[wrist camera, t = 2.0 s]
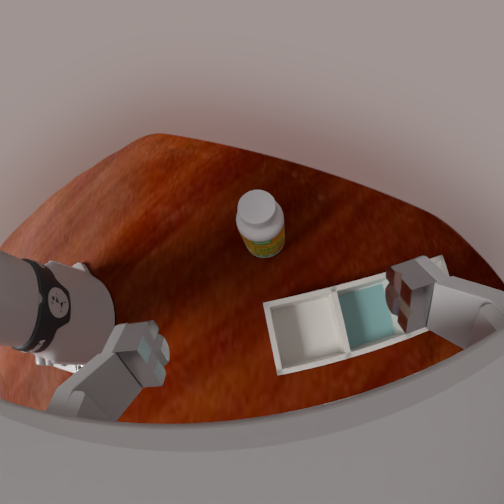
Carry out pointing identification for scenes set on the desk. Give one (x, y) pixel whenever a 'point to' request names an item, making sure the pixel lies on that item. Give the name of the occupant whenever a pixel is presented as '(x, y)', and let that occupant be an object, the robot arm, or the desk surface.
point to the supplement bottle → (261, 223)
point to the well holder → (334, 323)
